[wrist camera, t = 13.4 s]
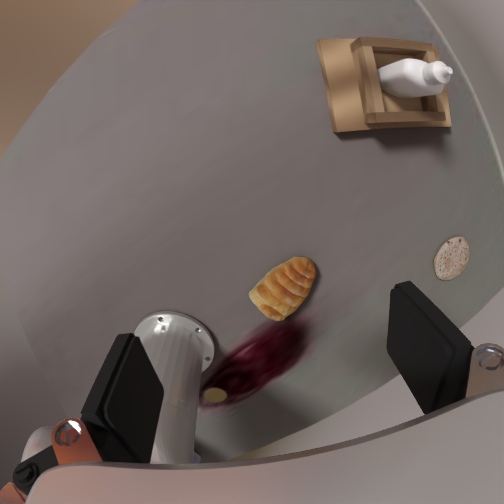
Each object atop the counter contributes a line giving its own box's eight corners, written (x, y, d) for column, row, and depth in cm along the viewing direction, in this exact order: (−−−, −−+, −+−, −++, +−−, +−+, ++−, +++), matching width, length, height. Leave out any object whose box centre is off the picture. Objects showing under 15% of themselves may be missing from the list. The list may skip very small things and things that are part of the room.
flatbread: (468, 232, 40) (472, 234, 39) (465, 272, 43) (468, 275, 42) (432, 241, 41) (436, 243, 40) (430, 284, 43) (433, 286, 42)
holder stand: (445, 126, 34) (466, 127, 29) (333, 132, 34) (347, 132, 30) (431, 48, 30) (451, 41, 25) (315, 42, 30) (326, 30, 25)
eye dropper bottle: (387, 58, 29) (441, 36, 18) (415, 90, 31) (475, 82, 20) (368, 77, 30) (420, 59, 19) (398, 110, 32) (456, 106, 21)
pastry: (289, 241, 39) (295, 252, 36) (325, 270, 41) (333, 282, 38) (244, 292, 42) (245, 307, 38) (281, 316, 44) (285, 332, 40)
